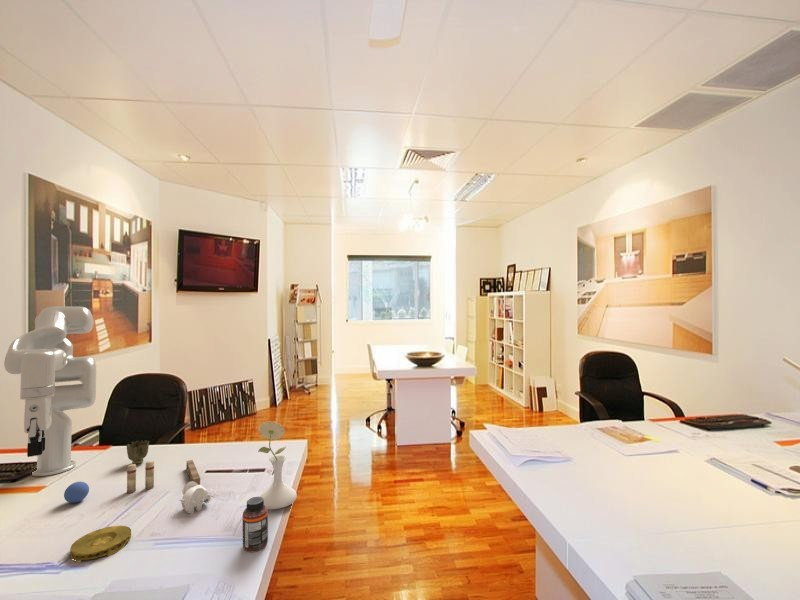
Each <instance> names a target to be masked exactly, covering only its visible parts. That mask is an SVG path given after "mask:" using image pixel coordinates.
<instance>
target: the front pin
mask: <svg viewBox="0 0 800 600" xmlns="http://www.w3.org/2000/svg"><path fill="white" fill-rule="evenodd" d="M126 467H127V468H126V493H127V494H133V493H135V492H137V465H136V464H132V463H131V464H128V465H127V466H126Z"/></svg>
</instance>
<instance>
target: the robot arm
mask: <svg viewBox="0 0 800 600" xmlns="http://www.w3.org/2000/svg"><path fill="white" fill-rule="evenodd" d="M40 311H41V312H40V313H39V314H38V315H36V317H35V319H34V329H33V330H31V331H28V332H26V333H25V334H22V335H21V336H20V335H19V337H17V338H16V339H14V340H13V341H12V342H11V344H10V345H9V346H8V349H7V352H6V354H5V357H4V360H3V361H4V362H3V366H4V370H5V371H6V372H7V373H8V374H9V375H20V394H19V399H20V400H21V401H22V400H24V412H23V413H24V416H23V417H24V418H23V421H24V422H23V430H24V433H26V434H28V437H27V449H26V450H27V452H26V456H27V457H28V458H30V457H37V459H36V468H37V470H36V471H34V472H32V475H31V476H32V477H47V476H53V475H57V474H61V473H65V472H67V471H70V470H72V469H73V468H75V467H76V466H77V462H76V461H75V460H72V459H71V458H72V457H71V456H72V425H73V423H72V419H71V418H70V416H69V415H68V414H66V412H65V411H69V410H77V409H86V408H90V407H92V406H93V405H94V403H95V402H96V393H97V392H96V391H97V364H96V360H95V359H94V358H93V357H92V356H74V345H73V343H72V342H71V340H69V339H68V338H67V335H75V334H81V335H82V334H88V333H90V332H91V331H92V330H93V328H94V323H95V321H94V317H93V314H92V313H91V310H90V309H89V308H87V307H85V306H68V305H67V306H66V305H65V306H61V305H58V306H55V305H54V306H48V307H46V308H44V309H42V310H40ZM68 382H69V383H70V382H80V383H75V384H64V385H63V384H62V385H61V384H60V385H56V384H58V383H68Z"/></svg>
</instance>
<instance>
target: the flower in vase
mask: <svg viewBox="0 0 800 600" xmlns="http://www.w3.org/2000/svg"><path fill="white" fill-rule="evenodd" d="M283 427H284V425H281V423H280V422H279V423H277V422H276V420H274V421H271V420H268V421H267V420H266V421H264V422H263V423H261V424H259V426H258V429H257V431H258V432H259V434H260V435H261V437H263V438H264V439H266V440H267V439H268V440H269V441H268V447H266V446H261V447H260V448H259V450H257V452H258V453H259V452H260V453H264V454H269V453H270V452H271V453H272V455H273V456H271V457H269V459H268V460H269V462H270V463H271V465H272V468H273V481H272V483H271V485H270V486H268V487H267V488H266V489H265V490H264V491H263V492H262V493H261V494H260V496H259V497H262V498H263V499H264V505H265V506H266V507H267V509H268V510H278V509H283V508H286V507H288V506H290V505H291V504H293V503H294V502H295V501H296V500H297V497H298V494H297V492H296V490H295V489H294V488H293V487H291V486H290V485H288V484H286V483H284V481H283V477H282V473H283V472H282V471H283V466H284V462H285V461H286V460H287V456H286V455H282V454H281V453H282V452H283V451H284V450H285V449H286V448H287V445H285V446H283V447H281V448H278V450H276V451H275V452H274V451H273V450H272V448H271V441H272V440H273V441H275V440H279V439H280V438H283V437H284V435H285V433H286V431H285V428H283ZM279 454H281V455H279Z"/></svg>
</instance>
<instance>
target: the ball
mask: <svg viewBox="0 0 800 600" xmlns="http://www.w3.org/2000/svg"><path fill="white" fill-rule="evenodd" d="M89 492H90V486H89V484H87V482H84V481H75V482H73V483H71V484H70V485H68V486H67V487H66V489H65V490H64V493H63V498H64V500H65V501H66V502H67V503H71V504H75V503H76V504H77V503H79V502H81V501H83V500H84V499H85V498H87V496H88V494H89Z"/></svg>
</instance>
